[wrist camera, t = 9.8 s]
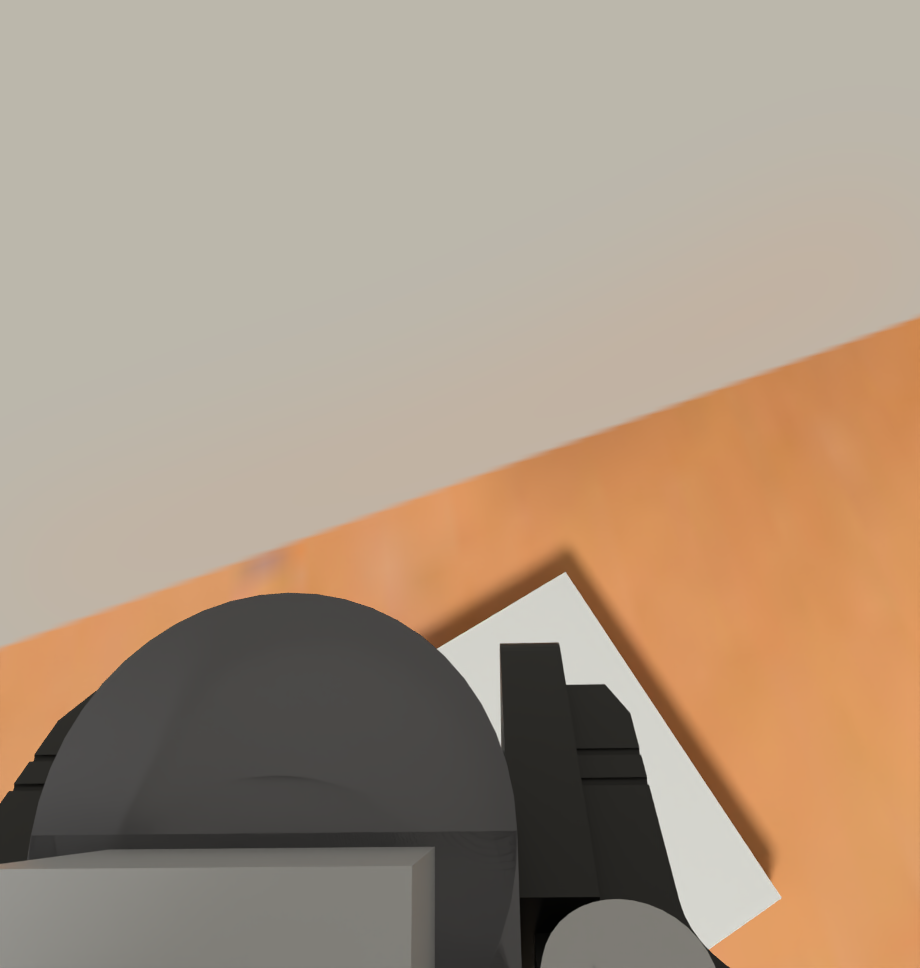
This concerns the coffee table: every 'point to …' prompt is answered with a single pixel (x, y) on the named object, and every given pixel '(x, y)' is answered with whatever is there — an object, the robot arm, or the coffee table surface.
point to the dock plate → (670, 773)
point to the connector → (273, 806)
